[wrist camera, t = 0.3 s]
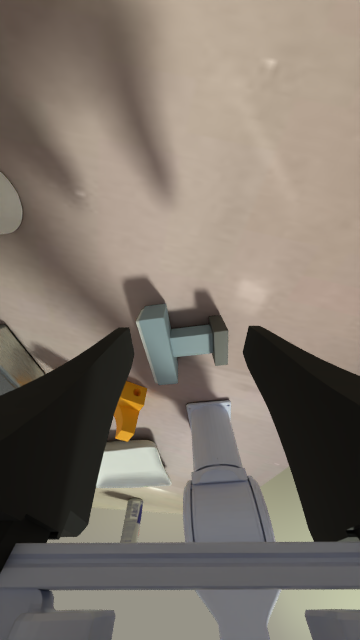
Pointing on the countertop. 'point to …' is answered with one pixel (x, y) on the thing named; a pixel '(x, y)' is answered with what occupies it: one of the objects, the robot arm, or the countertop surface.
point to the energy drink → (132, 521)
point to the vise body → (15, 363)
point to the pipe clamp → (129, 410)
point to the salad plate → (131, 465)
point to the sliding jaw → (178, 342)
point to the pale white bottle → (9, 207)
